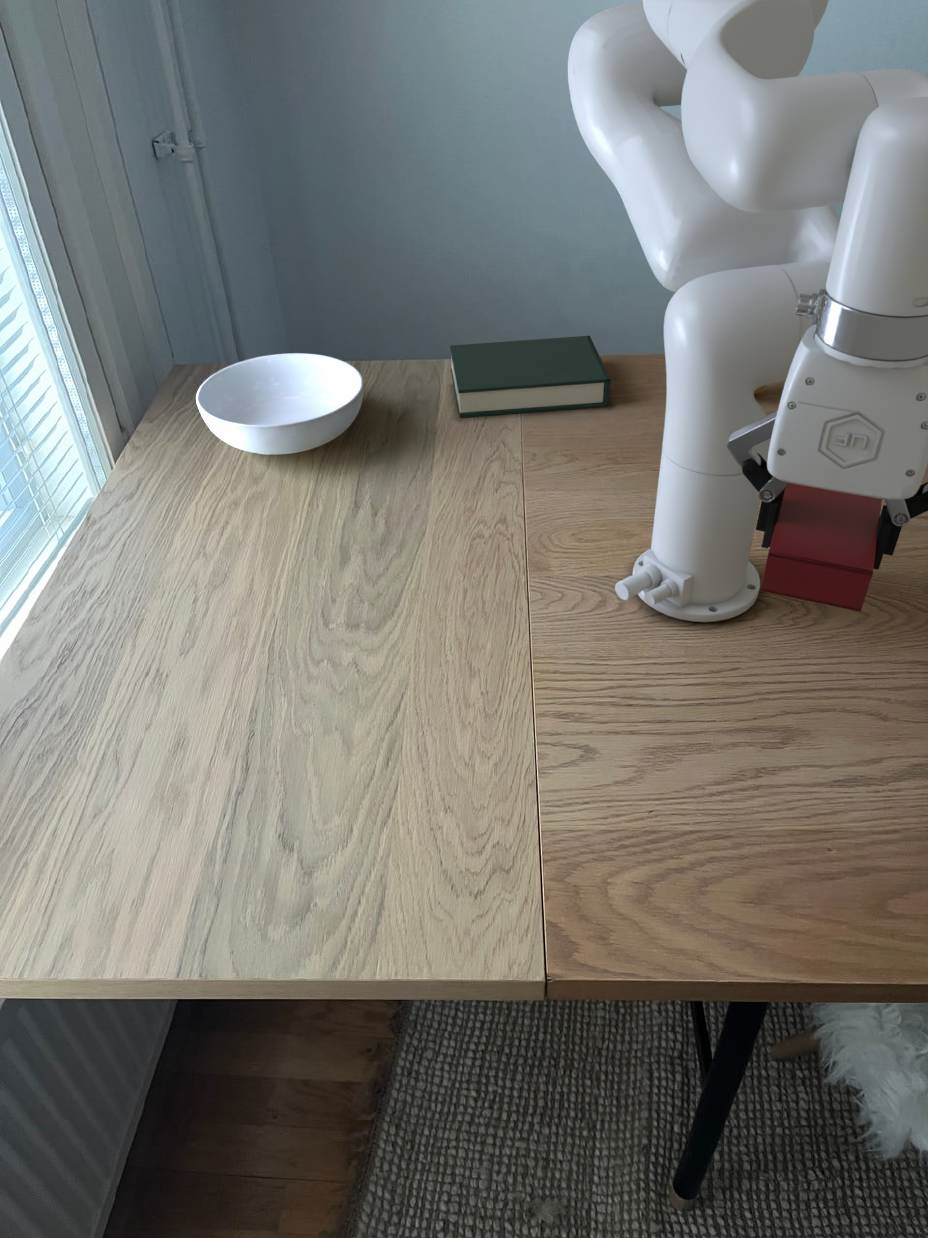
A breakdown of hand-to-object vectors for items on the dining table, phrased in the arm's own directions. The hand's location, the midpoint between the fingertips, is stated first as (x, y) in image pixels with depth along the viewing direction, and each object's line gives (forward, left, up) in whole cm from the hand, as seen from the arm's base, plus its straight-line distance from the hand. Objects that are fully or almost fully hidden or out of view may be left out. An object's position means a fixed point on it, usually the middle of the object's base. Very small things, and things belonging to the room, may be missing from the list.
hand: (821, 546), depth 71 cm
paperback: (0, 0, -1) cm, 1 cm away
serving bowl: (-10, +72, -18) cm, 75 cm away
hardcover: (+22, +62, -17) cm, 68 cm away
